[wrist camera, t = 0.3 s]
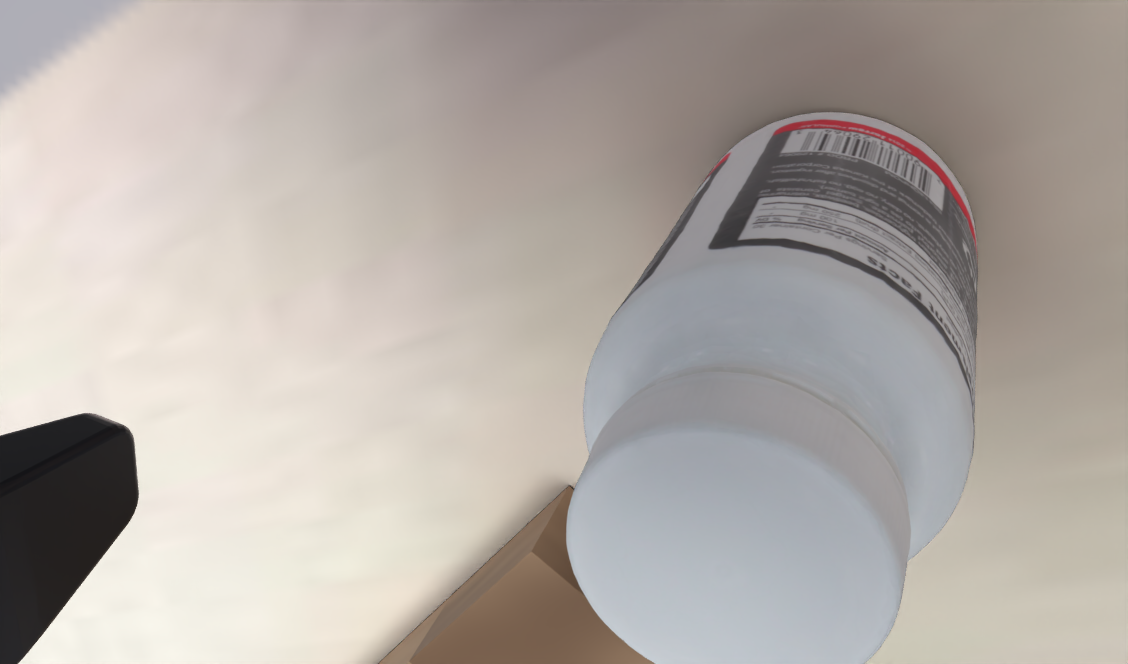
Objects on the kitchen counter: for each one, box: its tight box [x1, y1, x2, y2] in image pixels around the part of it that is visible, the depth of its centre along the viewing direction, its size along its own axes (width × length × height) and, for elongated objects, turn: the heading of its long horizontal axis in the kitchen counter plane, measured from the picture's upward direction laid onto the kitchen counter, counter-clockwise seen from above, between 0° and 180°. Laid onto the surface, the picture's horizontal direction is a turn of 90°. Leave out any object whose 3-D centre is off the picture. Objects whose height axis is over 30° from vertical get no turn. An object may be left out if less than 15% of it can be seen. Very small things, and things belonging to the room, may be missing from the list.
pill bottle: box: [566, 112, 978, 664], centre depth 16 cm, size 5×5×10 cm
